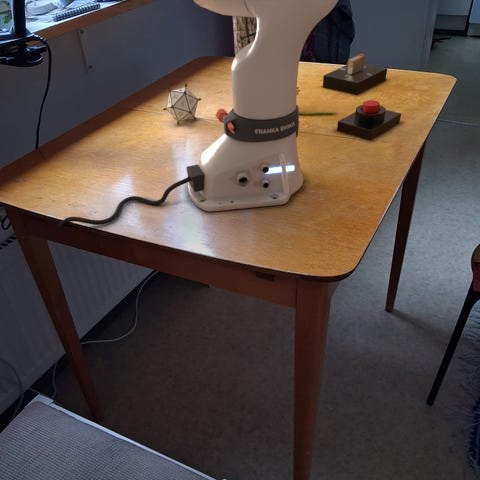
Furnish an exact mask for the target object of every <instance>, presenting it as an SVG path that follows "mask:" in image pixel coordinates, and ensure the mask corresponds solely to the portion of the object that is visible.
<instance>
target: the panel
mask: <svg viewBox="0 0 480 480" xmlns="http://www.w3.org/2000/svg"><path fill="white" fill-rule="evenodd" d="M347 72H348V64H345V65H344V66H341V67H339V68H337V69H334V70H332V71H330V72H328V73H326V74H324V75H323V78H322V87H323V88H325V89H329V90H334V91H338V92H342V93H347V94H351V95H356V96H357V95H360V94H361V93H364V92H366V91H368V90H369V89H371V88H374V87H375V86H377V85H379V84H382V83H383V82H385V81H386V80H387V76H388V75H387V73H388V67H387V68H386V67H381V66H376V65H371V64H366V63H364V70H361V71H359V72H357V73H355V74H353V75H350V74H347Z"/></svg>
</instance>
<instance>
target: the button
mask: <svg viewBox="0 0 480 480" xmlns="http://www.w3.org/2000/svg"><path fill="white" fill-rule="evenodd" d="M380 104H381V103H380V101H378V100H376V99H375V100H374V99H367V100H365V101H363V103H362V105H363V109H362V111H363V112H367V113H375V112H378V111H379V105H380Z"/></svg>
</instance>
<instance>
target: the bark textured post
mask: <svg viewBox="0 0 480 480" xmlns="http://www.w3.org/2000/svg"><path fill="white" fill-rule="evenodd" d="M232 25H233V27H232V28H233V44H234V45H233V46H234V55H235V56H236V55H237V53H238V52H239V51H240V50H241V49H242V48H244V47H245V46H247V45H248V44H250V43H251V42H253V41H254V39H255V36H256V30H257V19H256V18H254V17H243V16H232ZM235 56H234V57H235Z"/></svg>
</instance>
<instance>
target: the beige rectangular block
mask: <svg viewBox="0 0 480 480" xmlns="http://www.w3.org/2000/svg"><path fill="white" fill-rule="evenodd" d="M365 62H366V55H365V54H364V53H359V54H357V55H356V56H354V57H352V58H349V59H348V62H347V65H348V72H347V74H350V75H353V74H355V73H357V72H359V71H361V70H364V64H365Z"/></svg>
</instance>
